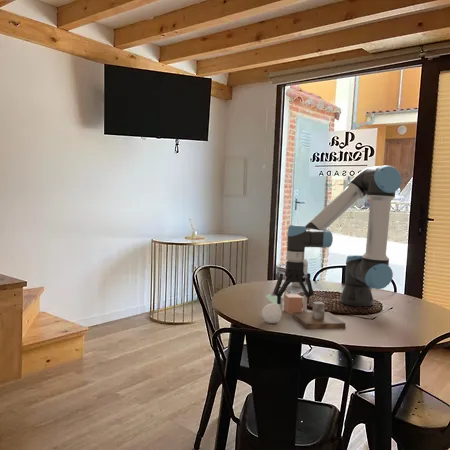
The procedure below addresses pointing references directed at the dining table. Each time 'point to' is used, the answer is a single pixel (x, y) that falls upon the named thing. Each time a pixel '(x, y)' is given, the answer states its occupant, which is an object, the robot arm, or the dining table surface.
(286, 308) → the salmon pink block
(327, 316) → the post stand
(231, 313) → the dining table surface
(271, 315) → the geometric ball
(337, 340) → the dining table surface
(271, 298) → the plant
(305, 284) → the supplement can
